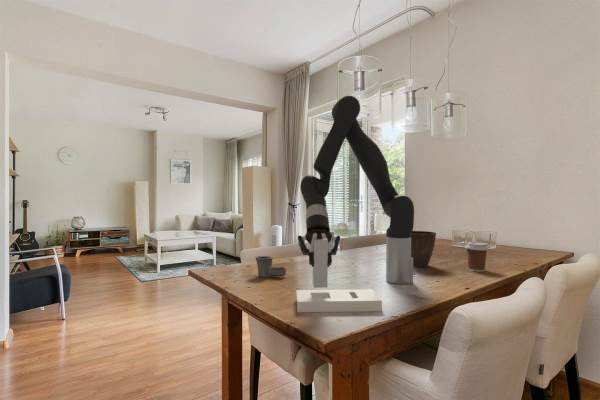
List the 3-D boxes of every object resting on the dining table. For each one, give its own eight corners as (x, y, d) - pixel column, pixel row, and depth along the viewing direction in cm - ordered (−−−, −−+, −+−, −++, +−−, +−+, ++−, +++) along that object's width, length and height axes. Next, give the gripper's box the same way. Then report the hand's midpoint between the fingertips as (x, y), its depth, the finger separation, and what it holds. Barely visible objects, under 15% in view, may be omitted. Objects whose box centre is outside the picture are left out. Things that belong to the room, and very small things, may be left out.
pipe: (283, 279, 124) (283, 259, 124) (252, 277, 127) (252, 258, 127) (287, 275, 130) (287, 256, 130) (257, 274, 133) (257, 255, 133)
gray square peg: (325, 283, 96) (326, 238, 96) (327, 287, 92) (327, 239, 92) (312, 283, 96) (313, 238, 95) (313, 287, 92) (314, 239, 91)
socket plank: (371, 298, 100) (371, 289, 100) (382, 311, 89) (382, 300, 89) (296, 299, 99) (296, 290, 99) (297, 312, 88) (297, 301, 88)
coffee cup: (491, 273, 135) (491, 245, 135) (467, 271, 137) (467, 244, 137) (485, 268, 144) (485, 242, 144) (463, 267, 146) (463, 241, 146)
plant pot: (396, 264, 152) (396, 231, 152) (417, 261, 160) (417, 230, 160) (421, 270, 139) (421, 234, 139) (443, 266, 147) (443, 232, 147)
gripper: (296, 213, 101) (297, 258, 89) (340, 213, 101) (346, 258, 89) (295, 228, 106) (296, 272, 94) (337, 228, 107) (343, 272, 95)
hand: (320, 265), depth 92 cm, fingers closed on gray square peg, 4 cm apart
